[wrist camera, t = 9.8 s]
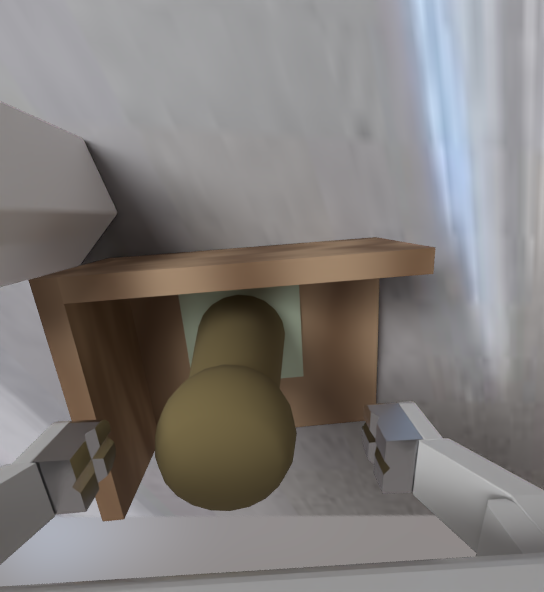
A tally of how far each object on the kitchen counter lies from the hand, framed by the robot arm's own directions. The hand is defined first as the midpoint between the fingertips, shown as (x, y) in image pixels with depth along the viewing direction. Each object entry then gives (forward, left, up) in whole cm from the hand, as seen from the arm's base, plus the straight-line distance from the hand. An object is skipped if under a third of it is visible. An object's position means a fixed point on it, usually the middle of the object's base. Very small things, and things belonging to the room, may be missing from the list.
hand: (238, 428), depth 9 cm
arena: (0, +2, -12) cm, 12 cm away
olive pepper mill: (+1, +1, -11) cm, 11 cm away
